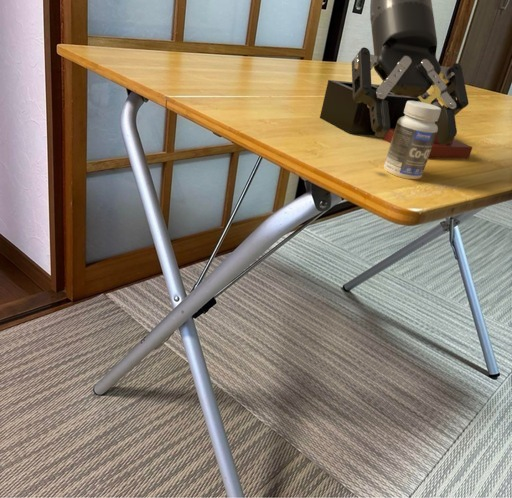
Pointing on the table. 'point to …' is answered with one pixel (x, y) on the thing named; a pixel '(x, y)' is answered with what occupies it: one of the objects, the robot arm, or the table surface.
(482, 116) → the table surface
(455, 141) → the panel
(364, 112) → the black divided box
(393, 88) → the robot arm
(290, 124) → the table surface
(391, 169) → the pill bottle
